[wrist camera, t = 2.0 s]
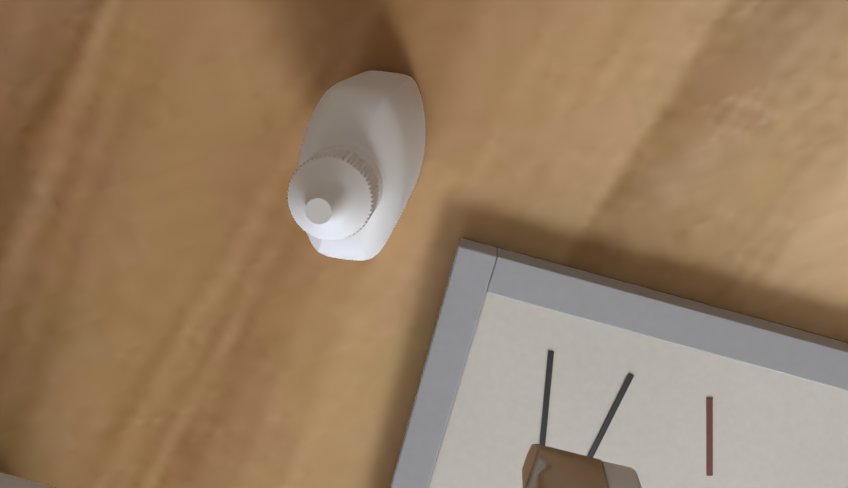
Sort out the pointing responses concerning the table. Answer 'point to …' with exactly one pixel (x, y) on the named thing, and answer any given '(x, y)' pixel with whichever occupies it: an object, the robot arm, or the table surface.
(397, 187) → the eye dropper bottle
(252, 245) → the table surface
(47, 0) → the table surface
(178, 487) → the table surface
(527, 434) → the whiteboard
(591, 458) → the robot arm
